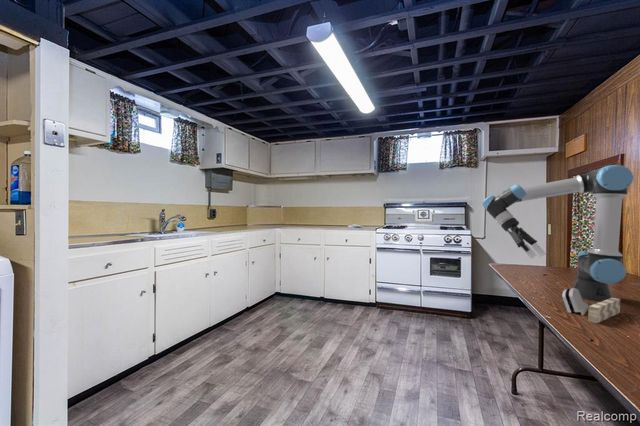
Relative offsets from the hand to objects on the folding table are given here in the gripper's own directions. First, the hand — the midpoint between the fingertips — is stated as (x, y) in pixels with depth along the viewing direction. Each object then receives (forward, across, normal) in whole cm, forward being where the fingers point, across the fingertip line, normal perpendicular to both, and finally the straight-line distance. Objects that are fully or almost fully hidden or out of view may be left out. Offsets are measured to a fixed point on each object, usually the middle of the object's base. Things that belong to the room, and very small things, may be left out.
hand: (538, 255), depth 143 cm
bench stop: (+32, +2, +3) cm, 32 cm away
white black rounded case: (+26, 0, -4) cm, 26 cm away
